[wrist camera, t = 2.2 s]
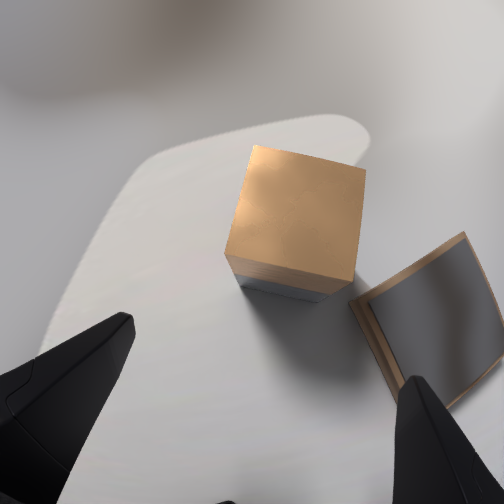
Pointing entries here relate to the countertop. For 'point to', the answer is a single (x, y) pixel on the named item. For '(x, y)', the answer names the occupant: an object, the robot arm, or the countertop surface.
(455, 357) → the walnut stand
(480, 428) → the countertop surface
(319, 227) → the tan and grey block
